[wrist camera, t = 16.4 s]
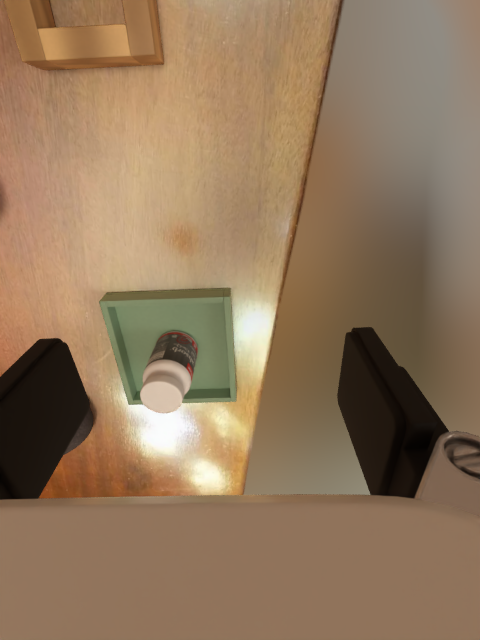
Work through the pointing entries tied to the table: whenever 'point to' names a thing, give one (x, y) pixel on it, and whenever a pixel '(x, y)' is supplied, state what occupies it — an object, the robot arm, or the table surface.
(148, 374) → the pill bottle
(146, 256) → the table surface
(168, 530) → the robot arm
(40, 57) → the holder
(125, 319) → the tray
